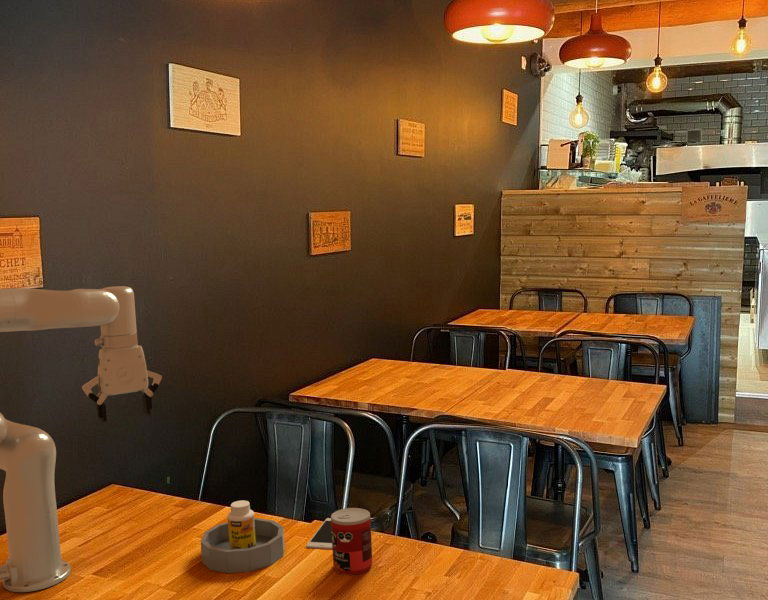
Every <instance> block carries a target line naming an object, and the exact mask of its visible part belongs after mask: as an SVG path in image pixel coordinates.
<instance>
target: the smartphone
mask: <svg viewBox="0 0 768 600" xmlns="http://www.w3.org/2000/svg"><path fill="white" fill-rule="evenodd" d="M306 548H307V549H320V550H332V534H331V517H330V518H329V517H327V518H325V520H324V521H323V522H322V524H321V525H320V526H319V528H318V529H317V530H316V532H315V533H314V535H312V537H311V538H310V540H309V541H308V542H307V544H306Z"/></svg>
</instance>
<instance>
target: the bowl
mask: <svg viewBox="0 0 768 600" xmlns="http://www.w3.org/2000/svg"><path fill="white" fill-rule="evenodd" d="M254 522H255V539H256V546H255V547H251V548H245V549H232V550H230V547H229V532H228V521H225V522H223V523H218V524H216V525H214V526H213V527H211V528H209V529H208V530H206V531H205V532H204V533H203V535H202V538H201V540H200V549H201V550H200V551H201V562H202V564H203V565H204V566H206V567H207V568H208V569H209V571H216V572H219V573H220V572H221V573H226V574H236V573H248V572H249V573H250V572H253V571H257V570H260V569H264V568H267V567H269V566H272V565H273V564H275V563H277V561H279V560H280V559H281V558H282V557H284V556H285V555H284V553H285V546H286V545H285V531H284V530H285V529H284V526H283V525H282V524H280V523H279V522H277V521H275V520H272V519H267V518H259V517H254Z"/></svg>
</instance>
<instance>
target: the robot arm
mask: <svg viewBox="0 0 768 600" xmlns="http://www.w3.org/2000/svg"><path fill="white" fill-rule="evenodd" d="M135 302H136V301H135V293H134V290H133V288H132V287H130V286H125V285H122V286H120V285H119V286H117V285H116V286H108V287H103V288H99V289H98V288H77V289H76V288H75V289H71V290H55V289H54V290H52V289H41V288H39V289H38V288H28V287H26V288H25V287H20V288H19V287H17V288H16V287H14V288H12V287H11V288H9V287H8V288H0V333H2V332H3V333H5V332H8V333H9V332H24V331H28V332H29V331H31V332H32V331H42V330H51V329H66V328H67V329H68V328H69V329H72V328H85V327H87V328H88V327H100V333H101V335H100V336H99V338H97V339H94V345H95V346H100V347H101V349H99V352H98V357H97V376H95V377H94V378H92V379H91V380H89V381H87V382H85V384H83V385H81V389H82V390H83V392H84V394H86V396H87V397H88V398H89V399H90V400H92V401H93V402H94V403H95V404H96V415H97V418H98V419H99V420H100V421H101V422H103V423H106V422H107V421H108V420H107V417H108V416H107V408H106V407H107V406H106V403H104V401H105V400H106V399H107V397H108V396H117V395H122V394H123V395H124V394H129V393H137V392H142V393H143V395H142V409H143V410H142V411H143V412H144V413H145V414H146V415H151V410H153V400H152V397H153V396H154V394H155V392H156V391H157V389H158V388H159V386H160V382H161V381H162V379H163V375H161V374H160V373H156V372H154V371H150V370H148V369H147V368H148V367H147V363H146V358H145V357H146V356H145V354H144V353H145V351H144V349H143V347H142V345H138V344H139V343H138V342H139V341H138V331H137V330H138V329H137V319H136V306H135V305H136V304H135ZM149 378H151V379H153V380H152V383H151V384H150V385H149ZM96 385H97V387H98V390H99V392H98V394H95V393H94V392H93V391H92V389H93V387H95V386H96ZM56 459H57V448H56V444H55V441H54V439H53V438H52V437H51V435H50V434H49V433H48V432H46V431H45V430H42V429H41V428H39V427H35V426H33V425H32V426H31V425H28V424H22V423H18V422H15V421H11V420H8V419H6V418H5V416H4V415H3V414H2V412H0V470H3V471H4V472H5V480H4V485H3V492H2V493H3V494H2V500H3V502H2V503H3V510H4V518H5V528H6V529H5V530H6V540H7V549H8V550H7V551H8V558H6V559H5V563H4V564H1V565H0V566H1V567H0V581H2V586H3V588H4V590H6V591H9V592H13V593H28V592H35V591H40V590H43V589H46V588H47V589H48V588H50V587H53V586H56V585H57V584H59V583H61V582H62V581H64V580H65V579H67V578H68V576H69V575H70V574H71V565H70V563H69V562H67V561H65V560H62V554H61V551H62V550H61V542H60V530H59V519H58V508H57V500H56V497H57V496H56V490H55V489H56V486H55V469H56Z"/></svg>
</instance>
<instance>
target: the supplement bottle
mask: <svg viewBox="0 0 768 600" xmlns="http://www.w3.org/2000/svg"><path fill="white" fill-rule="evenodd" d="M254 518H255V512H254V510H252V509H251V505H250V502H249V501H248V500H243V499H242V500H236V501H233V502H232V503H231V504H230V511H229V513H228V514H227V522H228V532H229V547H230V550H232V549H245V548H251V547H255V546H256V539H255V522H254Z"/></svg>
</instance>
